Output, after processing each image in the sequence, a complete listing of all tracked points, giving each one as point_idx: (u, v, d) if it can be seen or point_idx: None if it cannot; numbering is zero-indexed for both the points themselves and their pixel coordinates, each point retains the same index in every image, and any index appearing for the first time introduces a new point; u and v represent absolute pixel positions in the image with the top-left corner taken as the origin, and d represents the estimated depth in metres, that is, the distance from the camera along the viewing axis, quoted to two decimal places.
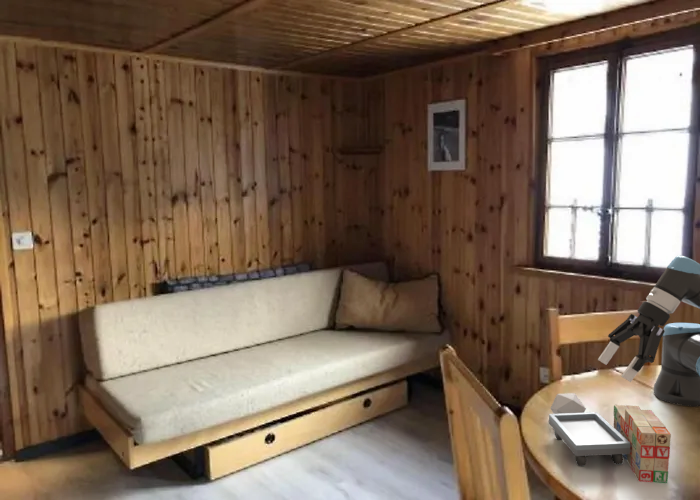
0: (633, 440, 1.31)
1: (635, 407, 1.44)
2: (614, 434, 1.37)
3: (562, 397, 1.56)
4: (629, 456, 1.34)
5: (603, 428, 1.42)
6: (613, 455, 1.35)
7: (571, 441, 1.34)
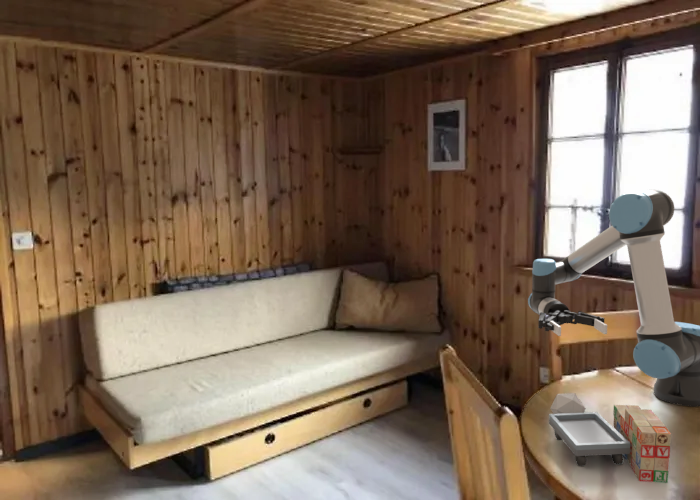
0: (633, 440, 1.31)
1: (635, 407, 1.44)
2: (614, 434, 1.37)
3: (562, 397, 1.56)
4: (629, 456, 1.34)
5: (603, 428, 1.42)
6: (613, 455, 1.35)
7: (571, 441, 1.34)
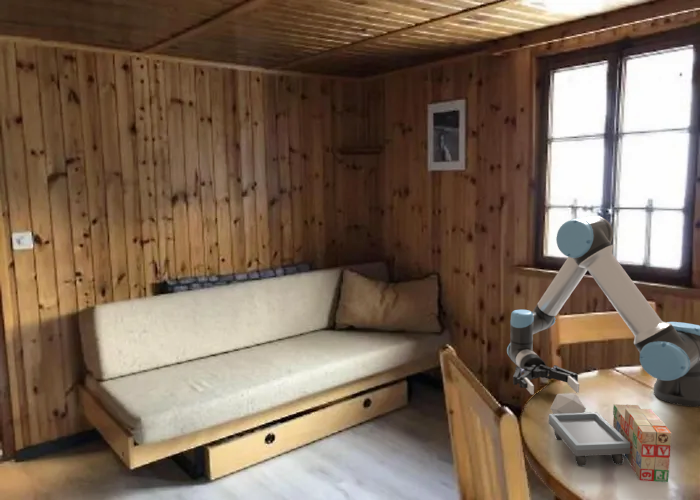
0: (634, 439, 1.31)
1: (634, 406, 1.45)
2: (614, 434, 1.37)
3: (562, 397, 1.56)
4: (629, 455, 1.34)
5: (603, 428, 1.42)
6: (613, 455, 1.35)
7: (571, 441, 1.34)
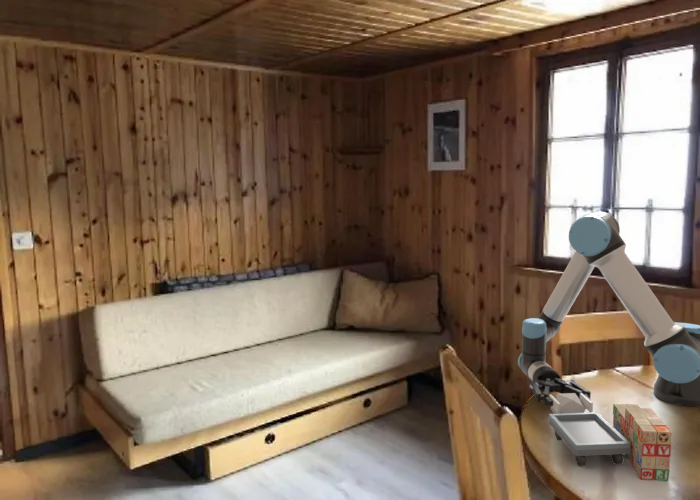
0: (634, 439, 1.31)
1: (634, 406, 1.45)
2: (614, 434, 1.37)
3: (562, 397, 1.56)
4: (630, 454, 1.35)
5: (603, 428, 1.42)
6: (613, 455, 1.35)
7: (571, 441, 1.34)
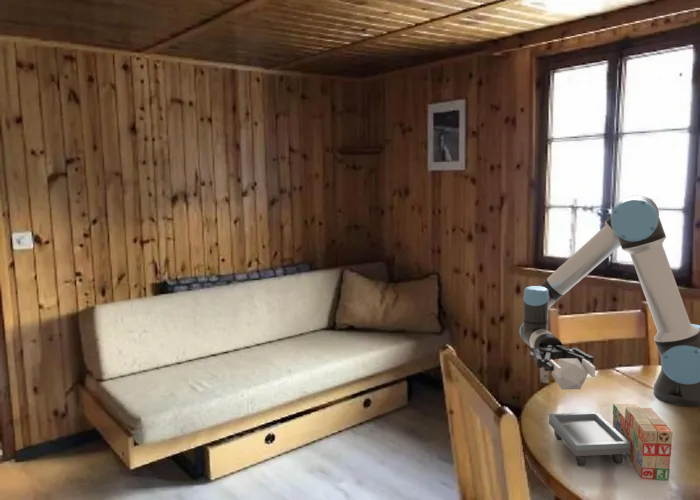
0: (634, 438, 1.32)
1: (634, 405, 1.45)
2: (614, 434, 1.37)
3: (563, 362, 1.50)
4: (630, 454, 1.35)
5: (603, 428, 1.42)
6: (613, 455, 1.35)
7: (571, 441, 1.34)
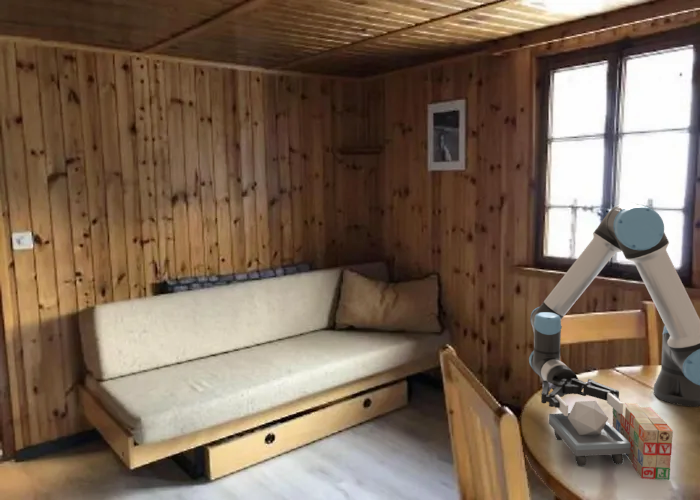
0: (635, 437, 1.32)
1: (634, 405, 1.46)
2: (614, 434, 1.37)
3: (581, 406, 1.39)
4: (630, 453, 1.35)
5: (603, 428, 1.42)
6: (613, 455, 1.35)
7: (571, 441, 1.34)
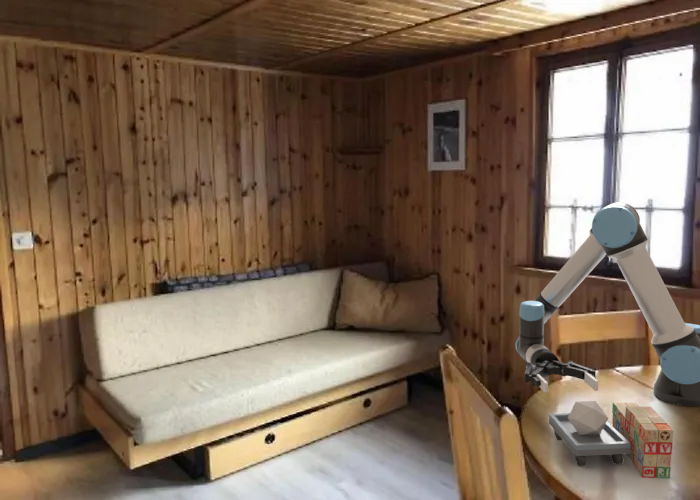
0: (635, 437, 1.32)
1: (633, 404, 1.46)
2: (614, 434, 1.37)
3: (581, 406, 1.39)
4: (631, 453, 1.35)
5: (603, 428, 1.42)
6: (613, 455, 1.35)
7: (571, 441, 1.34)
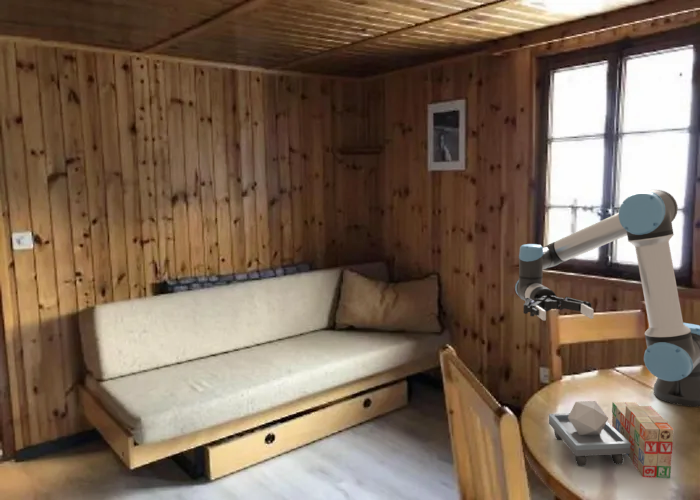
0: (635, 436, 1.32)
1: (633, 404, 1.46)
2: (614, 434, 1.37)
3: (581, 406, 1.39)
4: (631, 452, 1.36)
5: (603, 428, 1.42)
6: (613, 455, 1.35)
7: (571, 441, 1.34)
